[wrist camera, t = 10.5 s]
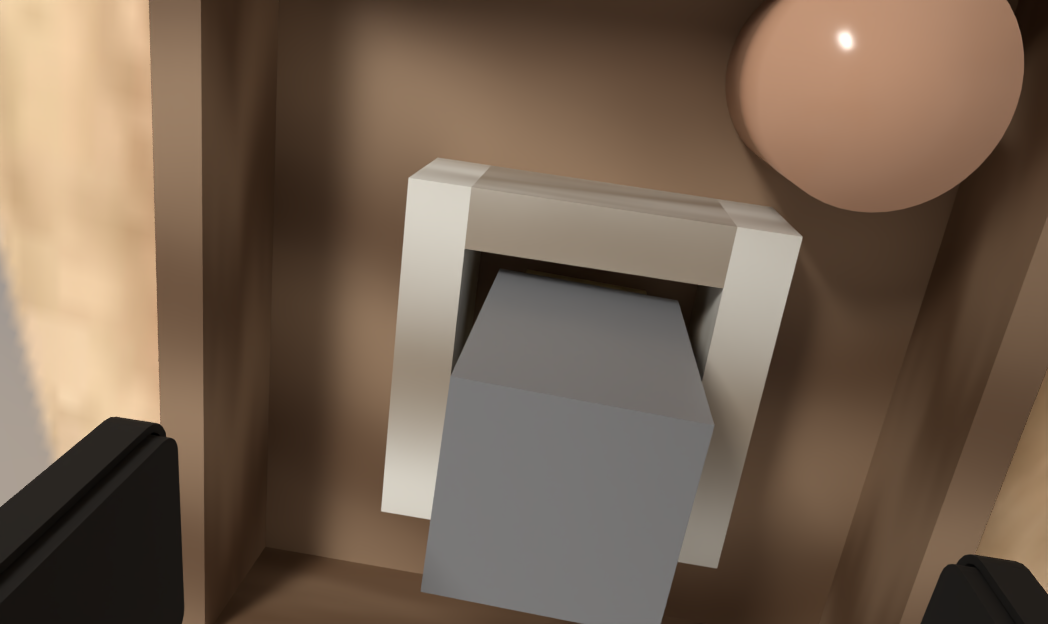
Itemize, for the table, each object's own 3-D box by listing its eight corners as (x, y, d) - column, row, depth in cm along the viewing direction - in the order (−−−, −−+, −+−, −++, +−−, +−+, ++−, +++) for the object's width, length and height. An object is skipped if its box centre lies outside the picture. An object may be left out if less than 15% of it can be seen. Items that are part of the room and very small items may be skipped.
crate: (253, -195, 17) (141, -272, 13) (1078, -89, 17) (1242, -135, 12) (243, 552, 24) (166, 661, 20) (831, 655, 23) (882, 791, 19)
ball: (749, -43, 17) (792, -68, 13) (958, -15, 17) (1063, -33, 13) (707, 162, 18) (734, 193, 14) (897, 190, 18) (975, 229, 14)
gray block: (509, 246, 19) (450, 375, 12) (670, 275, 19) (714, 425, 12) (487, 391, 21) (420, 592, 13) (637, 419, 20) (656, 638, 13)
